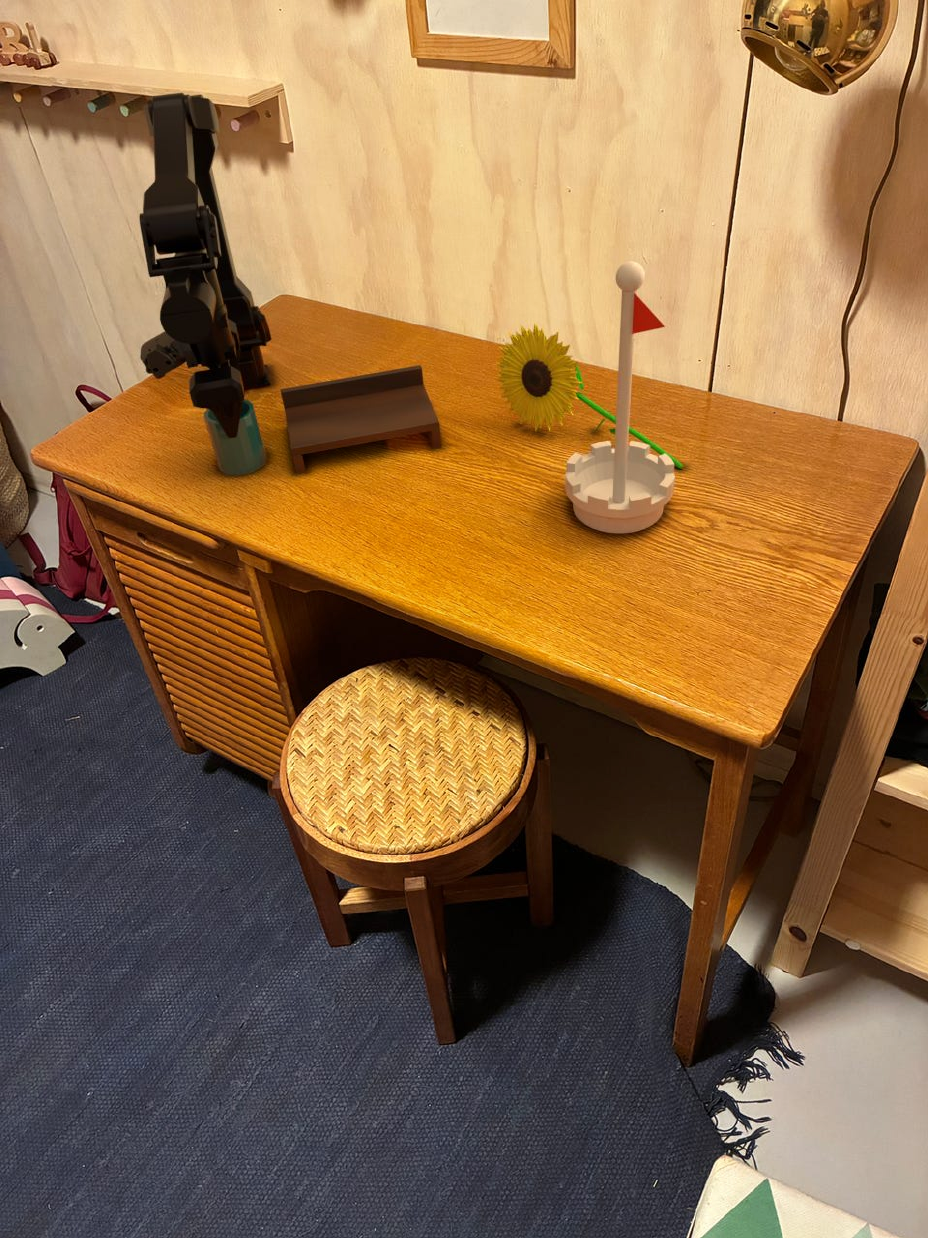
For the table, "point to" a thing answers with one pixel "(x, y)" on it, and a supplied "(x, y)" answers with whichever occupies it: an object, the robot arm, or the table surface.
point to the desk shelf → (358, 411)
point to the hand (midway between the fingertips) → (231, 419)
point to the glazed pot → (238, 443)
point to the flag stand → (622, 442)
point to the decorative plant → (546, 382)
